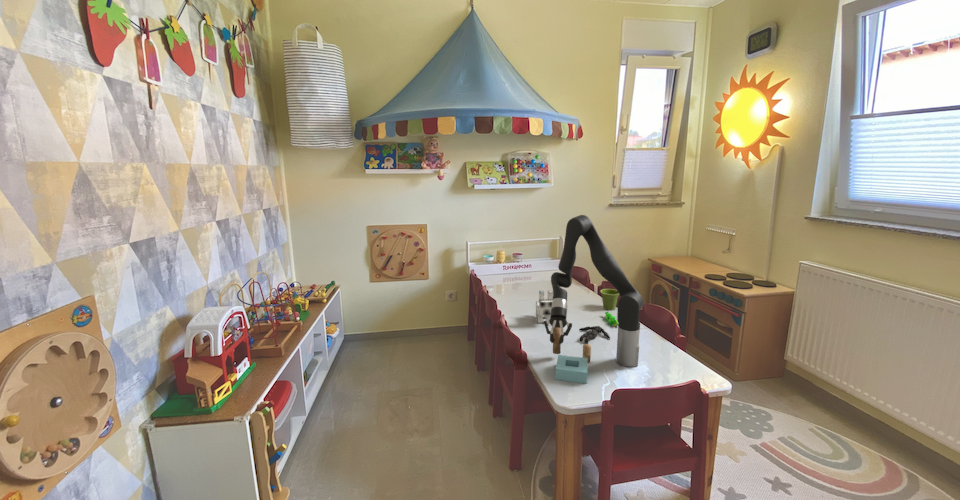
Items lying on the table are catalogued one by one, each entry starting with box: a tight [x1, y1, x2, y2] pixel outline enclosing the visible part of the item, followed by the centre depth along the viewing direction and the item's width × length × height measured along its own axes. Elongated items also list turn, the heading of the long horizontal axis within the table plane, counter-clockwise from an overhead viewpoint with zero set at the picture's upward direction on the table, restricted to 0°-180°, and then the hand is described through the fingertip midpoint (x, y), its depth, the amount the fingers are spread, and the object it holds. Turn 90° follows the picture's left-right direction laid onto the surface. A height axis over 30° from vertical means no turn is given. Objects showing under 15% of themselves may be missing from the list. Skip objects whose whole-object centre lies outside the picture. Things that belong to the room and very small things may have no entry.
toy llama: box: [535, 290, 553, 325], centre depth 228 cm, size 8×18×20 cm, turn 1°
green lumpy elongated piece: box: [603, 311, 618, 327], centre depth 227 cm, size 7×18×4 cm, turn 1°
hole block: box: [555, 354, 589, 384], centre depth 171 cm, size 13×13×5 cm
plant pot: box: [599, 288, 620, 311], centre depth 248 cm, size 12×12×11 cm
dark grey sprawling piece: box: [578, 325, 611, 344], centre depth 209 cm, size 18×4×20 cm
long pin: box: [552, 327, 562, 355], centre depth 184 cm, size 4×4×12 cm
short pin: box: [581, 343, 592, 364], centre depth 181 cm, size 4×4×8 cm
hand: (556, 342), depth 182 cm, fingers closed on long pin, 3 cm apart
